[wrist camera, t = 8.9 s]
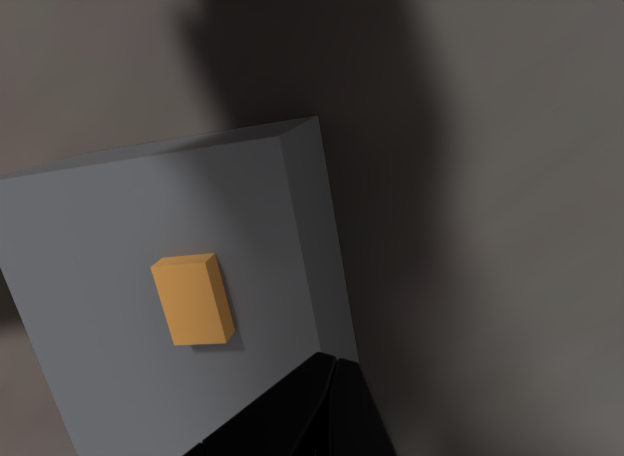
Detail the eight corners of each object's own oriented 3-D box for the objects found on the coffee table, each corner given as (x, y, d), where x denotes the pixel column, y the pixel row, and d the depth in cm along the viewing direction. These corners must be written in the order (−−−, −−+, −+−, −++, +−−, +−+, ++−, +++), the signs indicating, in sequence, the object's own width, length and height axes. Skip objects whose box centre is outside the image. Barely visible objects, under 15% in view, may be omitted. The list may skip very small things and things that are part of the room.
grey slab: (78, 154, 22) (-55, 190, 16) (317, 115, 19) (271, 139, 13) (189, 493, 28) (126, 614, 22) (382, 503, 25) (372, 646, 19)
